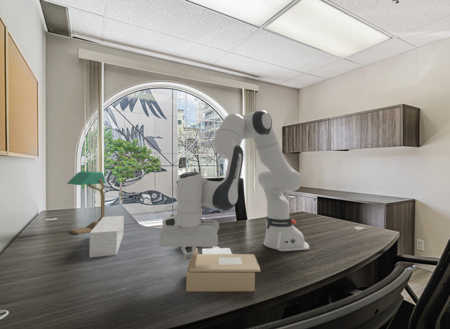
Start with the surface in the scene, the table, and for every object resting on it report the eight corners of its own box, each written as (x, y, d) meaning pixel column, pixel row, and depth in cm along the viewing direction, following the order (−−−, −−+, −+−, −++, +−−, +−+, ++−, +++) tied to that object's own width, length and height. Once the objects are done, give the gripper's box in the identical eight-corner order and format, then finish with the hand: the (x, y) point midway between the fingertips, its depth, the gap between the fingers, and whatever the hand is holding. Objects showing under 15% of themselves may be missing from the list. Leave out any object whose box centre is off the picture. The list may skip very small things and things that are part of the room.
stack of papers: (116, 255, 105) (116, 231, 105) (89, 257, 102) (89, 232, 102) (123, 234, 136) (123, 215, 136) (102, 236, 133) (103, 216, 133)
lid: (254, 256, 90) (254, 247, 90) (260, 271, 77) (260, 261, 77) (193, 255, 89) (193, 247, 89) (189, 271, 76) (189, 261, 76)
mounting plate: (201, 250, 113) (201, 246, 113) (228, 250, 115) (228, 246, 115) (203, 267, 95) (203, 262, 95) (235, 266, 97) (235, 261, 97)
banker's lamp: (114, 228, 148) (115, 171, 148) (78, 236, 130) (79, 172, 130) (99, 224, 156) (100, 171, 156) (64, 231, 139) (65, 171, 139)
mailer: (249, 272, 90) (249, 257, 90) (254, 291, 77) (255, 272, 77) (190, 272, 89) (190, 256, 89) (186, 291, 76) (186, 272, 76)
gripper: (219, 217, 86) (218, 255, 86) (162, 216, 86) (161, 255, 86) (219, 221, 80) (218, 262, 80) (157, 220, 79) (157, 262, 79)
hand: (188, 258), depth 83 cm, fingers closed
